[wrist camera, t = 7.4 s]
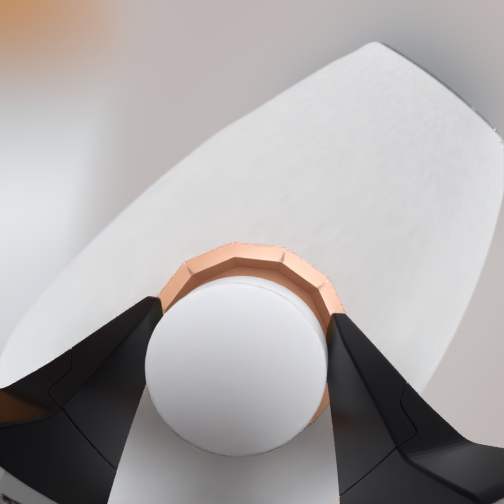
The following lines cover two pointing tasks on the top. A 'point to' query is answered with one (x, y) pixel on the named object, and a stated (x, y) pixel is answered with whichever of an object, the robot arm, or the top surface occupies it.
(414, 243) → the top surface
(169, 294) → the terracotta bowl
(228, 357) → the supplement bottle
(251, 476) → the top surface
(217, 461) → the top surface
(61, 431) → the robot arm
